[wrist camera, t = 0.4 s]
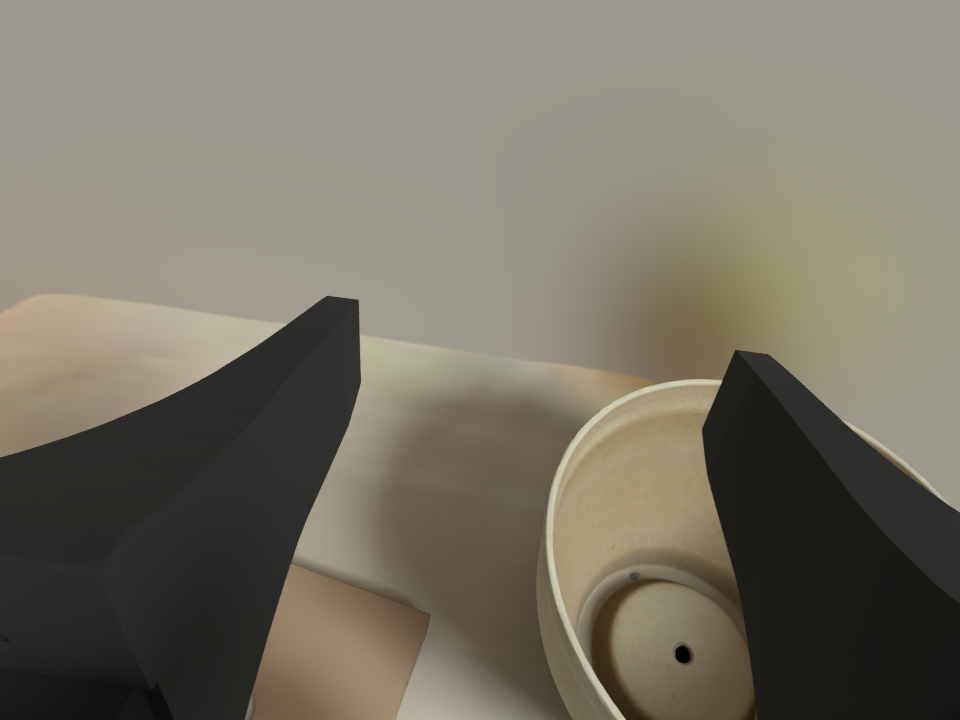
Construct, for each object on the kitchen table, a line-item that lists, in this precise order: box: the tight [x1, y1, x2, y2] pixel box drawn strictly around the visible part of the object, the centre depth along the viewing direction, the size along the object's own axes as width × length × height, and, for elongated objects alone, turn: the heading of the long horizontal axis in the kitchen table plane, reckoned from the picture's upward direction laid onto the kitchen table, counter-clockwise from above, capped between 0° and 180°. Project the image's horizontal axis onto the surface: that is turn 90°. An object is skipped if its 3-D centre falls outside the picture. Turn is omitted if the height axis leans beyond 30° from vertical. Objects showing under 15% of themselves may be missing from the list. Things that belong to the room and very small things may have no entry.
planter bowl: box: [536, 379, 953, 720], centre depth 24 cm, size 16×16×11 cm
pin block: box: [245, 564, 431, 720], centre depth 23 cm, size 12×12×6 cm
